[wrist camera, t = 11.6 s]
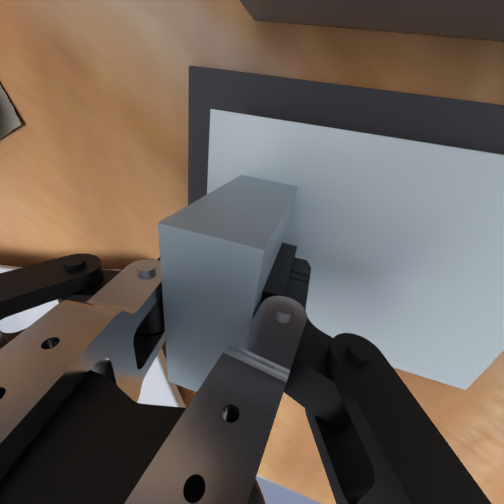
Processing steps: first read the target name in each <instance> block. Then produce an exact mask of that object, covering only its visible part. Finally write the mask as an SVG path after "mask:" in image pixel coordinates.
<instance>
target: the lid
mask: <svg viewBox="0 0 504 504" xmlns="http://www.w3.org/2000/svg"><path fill="white" fill-rule="evenodd" d="M158 230H159V246H160V262H161V278H162V294H163V310H164V326H165V342H166V358H167V374H168V381H169V382H171V383H174V384H177V385H179V386H182V387H184V388H187V389H190V390H192V391H195V392H197V391H198V390H199V388H200V387H201V385H202V384H203V382H204V381H205V379H206V377H207V376H208V374H209V373H210V371H211V370H212V368H213V367H214V365H215V364H216V362H217V361H218V359H219V358H220V356H221V355H222V353H223V352H224V351H225V349H226V348H227V347H229V346H230V347H233V348H234V347H235V346H236V344H237V343H238V341H239V339H240V338H241V336H242V335H243V333H244V331H245V330H246V328H247V326H248V325H249V323H250V322H251V320H252V318H253V317H254V315H255V313H256V312H257V310H258V309H259V307H260V302H261V297H262V292H263V289H264V286H265V284H266V281H267V279H268V276H269V274H270V271H271V269H272V267H273V264H274V262H275V259H276V257H277V254H278V252H279V249H280V247H281V244H282V242H283V243H287V244H291V245H295V246H297V250H296V254H295V257H296V258H300V259H303V260H307V261H308V263H309V265H310V267H311V274H310V281H309V288H308V295H307V303H306V313H307V317H308V319H309V320H310V321H311V323H312V324H313V325H314V326H315V327H316V328H318V329H319V330H321V331H322V332H324V333H325V334H327V335H329V336H331V337H332V338H334V337H335V336H336V335H338V334H341V333H352V334H356V335H359V336H361V337H364V338H365V339H367V340H369V341H370V342H372V343H373V344H374V345H375V346H376V347H377V348H378V349H379V350H380V351H381V352H382V354H383V355H384V356H385V358H386V359H387V361H388V362H389V363H390V365H391V366H392V367H394V368H397V369H400V370H404V371H407V372H410V373H413V374H416V375H419V376H423V377H426V378H429V379H432V380H435V381H439V382H442V383H445V384H448V385H451V386H455V387H458V388H461V389H464V390H466V389H467V388H468V387H469V386H470V385H471V384H472V383H473V382H474V381H475V380H476V379H477V378H478V376H479V375H480V374H481V373H482V372H483V371H484V370H485V369H486V368H487V367H488V366H489V365H490V364H491V363H492V362H493V361H494V360H495V359H496V358H497V357H498V356H499V355H500V354H501V353H502V352H503V351H504V155H503V154H496V153H490V152H484V151H477V150H471V149H465V148H458V147H452V146H446V145H439V144H433V143H427V142H420V141H414V140H408V139H401V138H395V137H388V136H382V135H376V134H369V133H363V132H357V131H350V130H344V129H338V128H331V127H325V126H319V125H312V124H306V123H300V122H293V121H287V120H281V119H274V118H268V117H261V116H255V115H249V114H242V113H236V112H230V111H223V110H216V109H210V132H209V156H208V179H207V195H205V196H204V197H202V198H200V199H198V200H197V201H195V202H193V203H192V204H190V205H188V206H186V207H185V208H183V209H181V210H180V211H178V212H176V213H174V214H173V215H171V216H169V217H167V218H166V219H164V220H162V221H161V222H159V223H158Z"/></svg>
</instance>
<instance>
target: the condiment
mask: <svg viewBox="0 0 504 504" xmlns="http://www.w3.org/2000/svg"><path fill="white" fill-rule="evenodd" d="M20 125H22V124H21V122H20V120H19V118H18V117H17V115H16V113H15V110H14V107H13V106H12V104H11V103H10V101H9V99H8V97H7V95H6V93H5V92H4V90H3V89H2V87H1V85H0V139H1V138H2V137H4V136H6V135H8V134H9V133H10V132H11V131H12V130H13V129H15V128H17V127H19V126H20Z"/></svg>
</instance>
